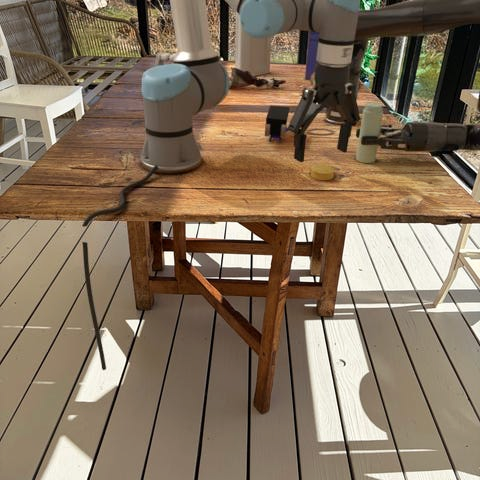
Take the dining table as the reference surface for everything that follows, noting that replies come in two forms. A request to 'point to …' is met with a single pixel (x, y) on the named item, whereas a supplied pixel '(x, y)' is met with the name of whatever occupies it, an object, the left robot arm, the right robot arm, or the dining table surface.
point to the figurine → (250, 80)
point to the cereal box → (311, 53)
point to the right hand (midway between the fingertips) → (359, 136)
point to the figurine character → (276, 122)
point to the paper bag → (251, 51)
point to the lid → (322, 172)
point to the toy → (164, 58)
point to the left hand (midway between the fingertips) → (320, 155)
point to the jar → (369, 131)
